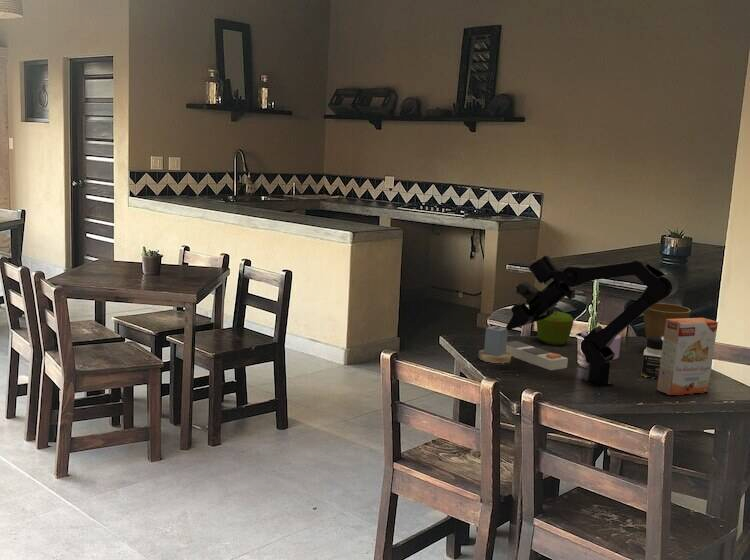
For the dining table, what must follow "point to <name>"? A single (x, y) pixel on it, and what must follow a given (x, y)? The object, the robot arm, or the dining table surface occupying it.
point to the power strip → (536, 356)
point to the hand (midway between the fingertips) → (513, 326)
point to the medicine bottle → (652, 357)
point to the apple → (555, 328)
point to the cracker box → (686, 356)
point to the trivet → (495, 358)
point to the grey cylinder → (495, 341)
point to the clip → (614, 345)
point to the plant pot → (662, 317)
